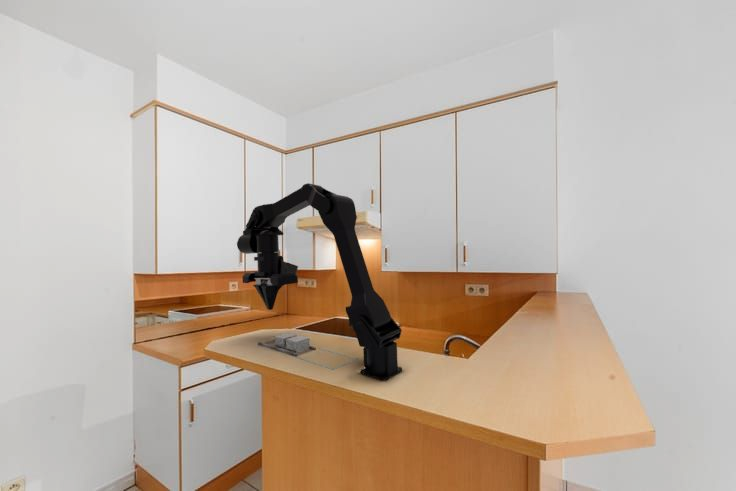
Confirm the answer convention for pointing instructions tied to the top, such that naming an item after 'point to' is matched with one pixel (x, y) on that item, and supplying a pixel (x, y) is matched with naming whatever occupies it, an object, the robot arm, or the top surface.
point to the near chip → (297, 344)
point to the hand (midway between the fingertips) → (270, 309)
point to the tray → (329, 367)
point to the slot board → (272, 346)
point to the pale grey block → (283, 340)
